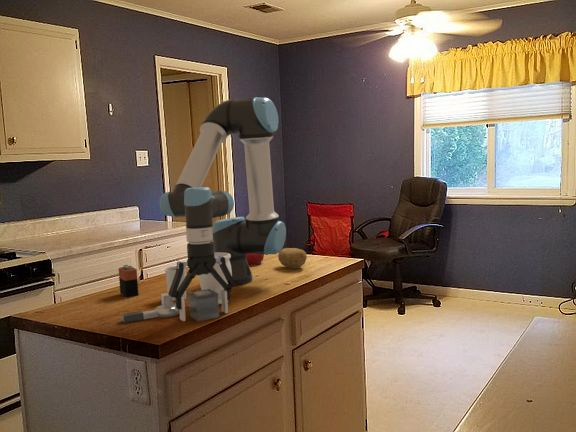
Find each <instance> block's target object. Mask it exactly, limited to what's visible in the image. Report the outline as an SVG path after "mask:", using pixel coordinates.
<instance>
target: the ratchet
mask: <svg viewBox="0 0 576 432" xmlns="http://www.w3.org/2000/svg"><path fill="white" fill-rule="evenodd" d="M160 297H161V298H160V299H161V305H159V306H158V305H157V306H156V307H155V308H154V309H151V310H148V311H147V310H146V311H142V310H138V311H130V312H125V313H121V321H122V323H124V324H128V323H134V322H139V321H144V320H149V319H153V318H161V319H162V318H163V319H164V318H172V317H173V318H174V317H176V316H180V311H179V310H178V309H177V308H176V303H175V304H174V302H173V301H174V300H173V297H171V296H170V295H169V294H168V292H165V293H164V292H163V293H160Z"/></svg>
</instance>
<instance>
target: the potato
mask: <svg viewBox="0 0 576 432" xmlns="http://www.w3.org/2000/svg"><path fill="white" fill-rule="evenodd" d="M277 257H278V261H279V262H280V263H281V266H284V267H286V268H288V269H298V268H301V267H302V266H304V265H305V263H306V261H307V259H308V258H307V253H306V251H305V250H303V249H300V248H297V247H291V248H290V247H285V248H282V249H281V251H280V252H279V253H278V256H277Z"/></svg>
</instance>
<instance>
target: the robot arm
mask: <svg viewBox="0 0 576 432" xmlns="http://www.w3.org/2000/svg"><path fill="white" fill-rule="evenodd" d="M279 123H280V122H279V114H278V110H277V108H276V106H275V104H274V102H273V101H272V100H271V99H270V98H268V97H251V98H249V97H248V98H237V99H227V100H225V101H222V102H220V103H218V104H217V105H216V106H215V107H213V108H212V109H211V111H210V112H209V113H207V115H206V116H205V118H204V119H203V121H202V122H201V124H200V127H199V133H200V134H199V136H198V137H197V140H196V143H195V144H194V146H193V147H192V149H191V153H190V155H189V157H188V158H187V161H186V162H185V165H184V168H183V169H182V171H181V173H180V174H179V177H178V180H177V182H176V184H175V186H174V188H173V190H172V191H168V192H164V193H162V194H161V196H160V198H159V208H160V211H161V212H162V214H163V215H164V216H165V217H174V218H178V217H180V218H182V217H183V218H185V230H186V231H185V233H186V242H188V243H187V244H186V252H187V260H186V261H177V262H176V266H177V270H176V273H175V276H174V279H173V281H172V284H171V287H170V290H169V293H168V292H167V293H168V294H169V295H170V296H171V297H175V300H176V301H175V304H176V308H177V309H178V310H179V311H180V314H179V319H180V321H182V322H185V321H186V304H185V303H186V302H185V299H184V298H183V297H182V295H183V294H184V292H185V291H186V292H187V288H188V287H189V286H190V284H191V283H192V281H193V279H194V278H195V277H197V276H199V275H202V274H208V273H210V274H211V275H212V276H213V277H214V278H215V279H216V280H217V281H218V282H219V284H220V285H221V286H222V287H223V288H224V289H222V290H221V299H222V304H221V312H223V313H224V314H229V306H228V305H229V304H228V303H229V302H230V301H231V290H232V288H233V289H234V288H235V287H236V286H239V285H240V286H241V285H245V284H248V283H250V282H252V281H253V273H252V271H251V268H250V265H248V262H247V259H246V254H264V256H268V255H277V254H279V252H280V251H281V250H282V249H284V245H285V241H286V236H287V228H286V225H285V222H283V221H280V217H279V214H278V213H277V212H276V211H275V208H274V207H275V206H274V192H273V180H272V179H273V177H272V165H271V163H272V162H271V151H270V141H272V139H273V138H274V132H277V130H278V129H279ZM231 135H238V140H239V141H240V142H241V143H243V146H244V148H243V149H244V156H245V157H244V159H245V171H246V173H245V174H246V182H247V195H248V199H247V200H248V209H249V213H248V214H247V216H246V217H244V216H235V217H229V218H223V219H218V220H216V221H213V219H214V218H219V217H224V216H227V215H229V214H230V213H231V212H233V210H234V206H235V200H234V198H233V195H232V194H231V193H229V192H228V191H225V190H217V191H212V189H211V188H210V187H208V186H203V184H204V182H205V180H206V177H207V175H208V173H209V170H210V169H211V166H212V165H213V163H214V160H215V157H216V156H217V154H218V151H219V149H220V147H221V144H223V143H225V142H226V140H227V139H228V137H229V136H231ZM215 252H223V253H229V254H231V258H230V259H229V261H230V264H231V269H232V276H231V274H230V272H229V270H228V268H227V266H226V261H225V258H224V257H222V256H219V257H218V258H215V257H214V253H215ZM216 262H217V264H219V266H220V268H221V270H222V272H223V274H224V276H225V278H226V280H227V282H228V284H227V283H226V282H225V281H224V280H223V279H222V278H221V276H220V275H219V274H218V273H217V271H216V270H215V269H214V268H213V266H214V265H215V263H216ZM187 267H188V271H187V273H186V277H185V279H184V280H183V282H182V283H181V285H180V287H179V288H178V286H179V283H180V280H181V277H182V274H183V270H184V269H185V268H187ZM177 289H178V290H177ZM227 301H229V302H227Z"/></svg>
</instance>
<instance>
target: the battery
mask: <svg viewBox="0 0 576 432" xmlns="http://www.w3.org/2000/svg"><path fill="white" fill-rule="evenodd" d="M138 279H139V278H138V271H137V268H134V266H133V265H128V264H124V265H123V266H121V267H119V268H118V280H119V291H120V294H121V295H122V296H123V297H126V298H129V297H136V296H139V282H138Z"/></svg>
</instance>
